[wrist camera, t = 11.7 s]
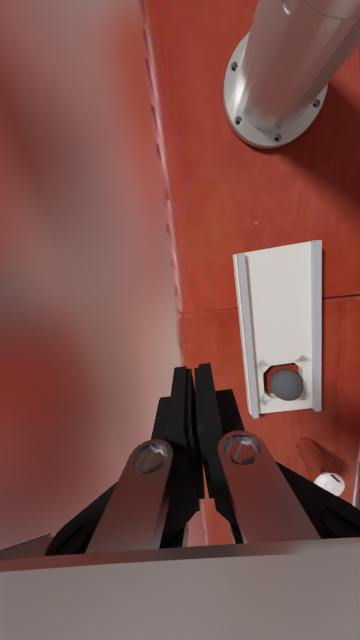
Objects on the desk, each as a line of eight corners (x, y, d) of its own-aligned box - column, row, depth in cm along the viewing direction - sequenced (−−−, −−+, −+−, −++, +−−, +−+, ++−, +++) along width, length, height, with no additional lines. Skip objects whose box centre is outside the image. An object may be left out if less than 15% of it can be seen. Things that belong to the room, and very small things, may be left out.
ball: (269, 399, 40) (263, 371, 41) (298, 395, 40) (291, 366, 40) (280, 406, 35) (272, 373, 36) (313, 401, 35) (304, 368, 35)
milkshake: (318, 431, 43) (355, 482, 33) (314, 453, 44) (349, 508, 35) (294, 431, 43) (323, 481, 33) (291, 453, 45) (318, 508, 35)
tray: (232, 254, 35) (235, 254, 32) (314, 240, 34) (323, 239, 31) (248, 409, 42) (251, 418, 40) (315, 401, 41) (322, 410, 39)
